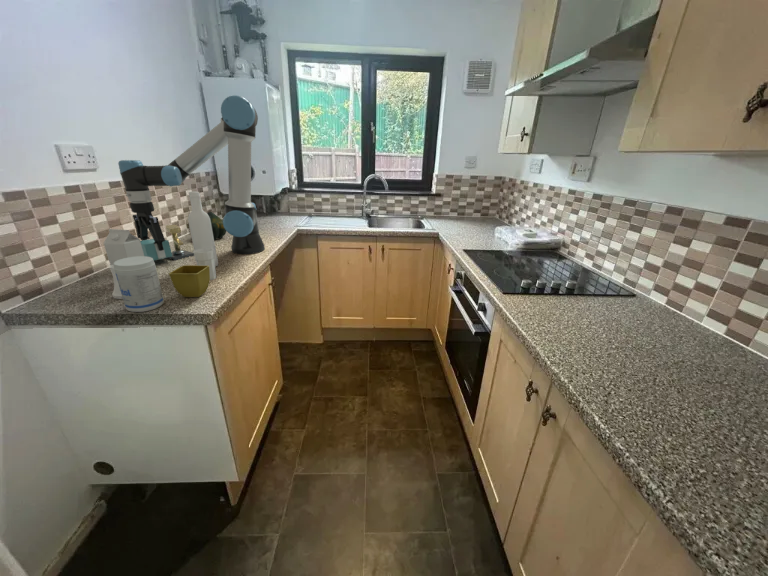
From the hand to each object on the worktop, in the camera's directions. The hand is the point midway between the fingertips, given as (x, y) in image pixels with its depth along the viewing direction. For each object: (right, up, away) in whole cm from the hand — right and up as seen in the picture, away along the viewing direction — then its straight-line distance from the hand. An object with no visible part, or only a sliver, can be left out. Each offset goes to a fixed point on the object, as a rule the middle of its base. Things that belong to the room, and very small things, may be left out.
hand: (155, 256), depth 134 cm
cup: (+31, -10, -15) cm, 36 cm away
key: (+6, +3, +6) cm, 9 cm away
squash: (+2, +14, +41) cm, 44 cm away
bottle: (+24, -5, -2) cm, 24 cm away
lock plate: (+4, +1, +9) cm, 10 cm away
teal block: (0, 0, 0) cm, 1 cm away
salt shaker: (+13, -16, -30) cm, 36 cm away
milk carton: (+7, -11, -20) cm, 24 cm away
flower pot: (+34, -16, -29) cm, 48 cm away
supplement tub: (+25, -19, -38) cm, 49 cm away
